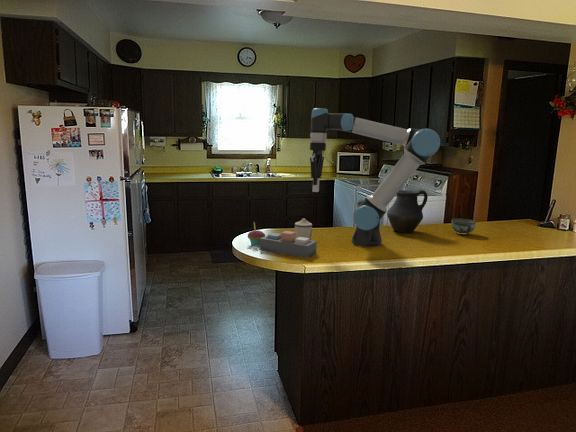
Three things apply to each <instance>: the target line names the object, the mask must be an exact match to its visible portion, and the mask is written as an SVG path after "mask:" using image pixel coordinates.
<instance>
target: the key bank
mask: <svg viewBox="0 0 576 432" xmlns="http://www.w3.org/2000/svg"><path fill="white" fill-rule="evenodd" d="M317 243H318V241H317V240H312V239H311V240H310V243H309V244H307V245H305V244H299V243H295V241H293V242H286V241H281V239H279V240H273V239H268V235H265V237H263V238H260V246H259V251H263V252H270V253H276V254H282V255H287V256H294V257H298V258H299V257H300V258H306V259H309V258H310V257H311V256H313V255H315V254H317Z"/></svg>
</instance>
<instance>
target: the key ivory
mask: <svg viewBox="0 0 576 432" xmlns="http://www.w3.org/2000/svg"><path fill="white" fill-rule="evenodd" d="M295 243H299V244H305V245H307V244H309V243H310V238H304V237H298V238H296V239H295Z"/></svg>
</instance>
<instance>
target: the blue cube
mask: <svg viewBox="0 0 576 432" xmlns="http://www.w3.org/2000/svg"><path fill="white" fill-rule="evenodd" d="M267 236H268V239H273V240H279V239H281V233H275V232H272V233H269V234H267Z"/></svg>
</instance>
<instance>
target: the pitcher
mask: <svg viewBox="0 0 576 432" xmlns="http://www.w3.org/2000/svg"><path fill="white" fill-rule="evenodd" d="M419 195H423V200H422V203H421V204H419V203H418V202H419V201H418V196H419ZM427 202H428V192H426V191H425V190H423V189H417V190H412V189H411V190H408V189H407V190H401V189H400V190H399V192H398V193H397V194H396V198H395V200H394V202H393V204H392V205H391V206H390V208H388V210H387V212H386V215H387V219H388V221H389V225H390V226H391V228H392V229H393V231H395V232H400V233H410V234H412V233H413V232H414V231H416V229H417V227H418V226H419V225H420V224H421V222H422V221H423V219H424V215H423V214H424V213H423V209H424V208H425V206H426V205H427Z"/></svg>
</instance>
